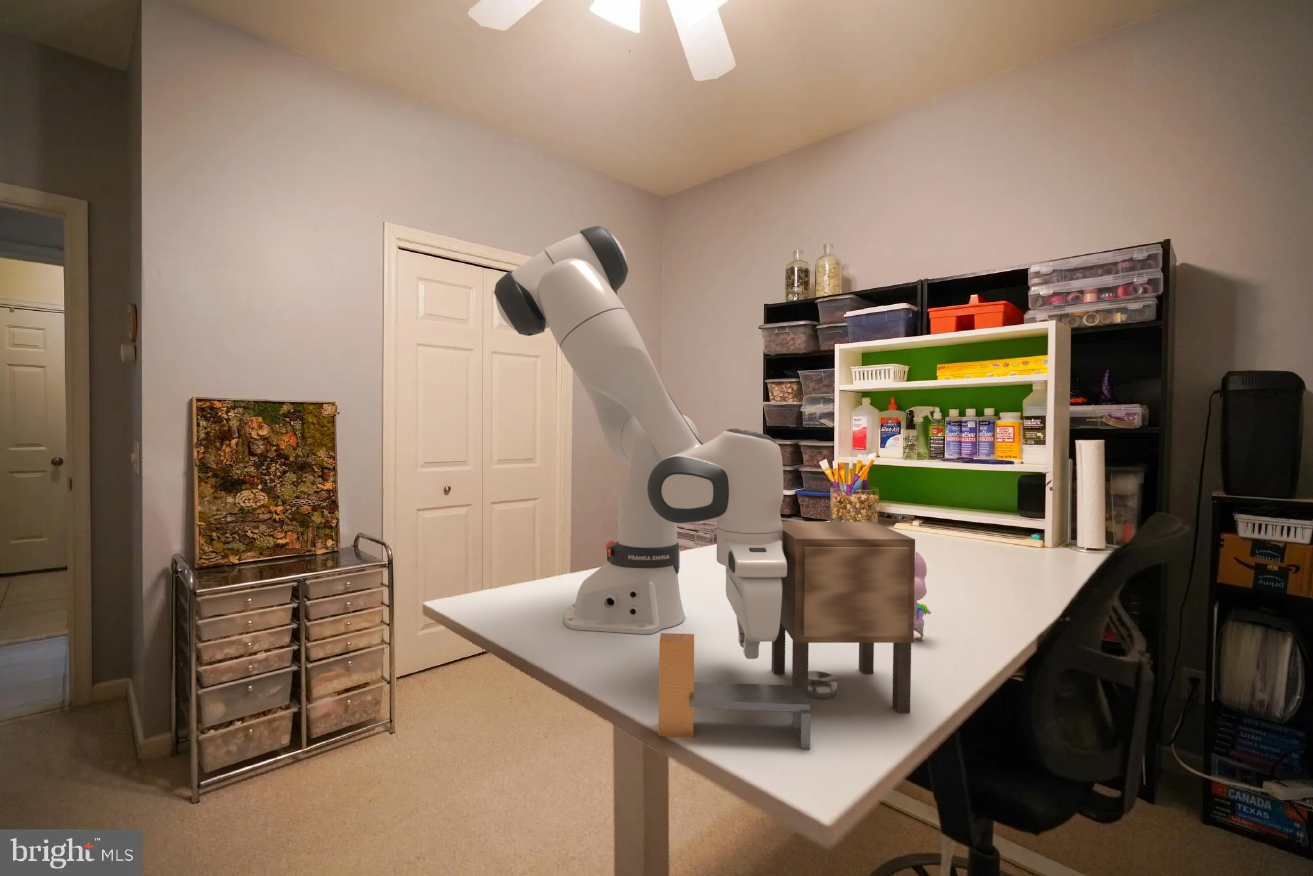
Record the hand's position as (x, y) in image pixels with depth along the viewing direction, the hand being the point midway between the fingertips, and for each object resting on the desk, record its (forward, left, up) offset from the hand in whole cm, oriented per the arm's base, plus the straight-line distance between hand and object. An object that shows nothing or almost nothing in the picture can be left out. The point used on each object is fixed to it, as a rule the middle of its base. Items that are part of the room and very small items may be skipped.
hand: (748, 651), depth 82 cm
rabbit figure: (+32, +19, -6) cm, 37 cm away
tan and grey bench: (-10, -10, -6) cm, 16 cm away
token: (+10, 0, -6) cm, 11 cm away
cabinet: (+12, 0, -6) cm, 13 cm away
